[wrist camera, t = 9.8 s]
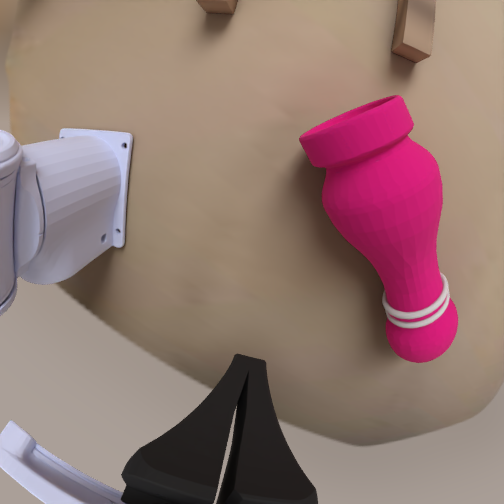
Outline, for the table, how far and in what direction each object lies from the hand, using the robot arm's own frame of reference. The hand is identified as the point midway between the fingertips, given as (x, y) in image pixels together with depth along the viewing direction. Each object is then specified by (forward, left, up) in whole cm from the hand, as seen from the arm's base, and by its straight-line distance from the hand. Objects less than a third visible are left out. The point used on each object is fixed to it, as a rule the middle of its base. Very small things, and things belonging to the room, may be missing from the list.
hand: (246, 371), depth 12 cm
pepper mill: (+12, -2, -7) cm, 14 cm away
